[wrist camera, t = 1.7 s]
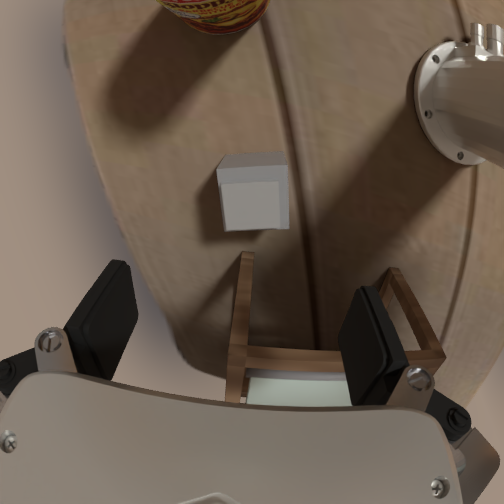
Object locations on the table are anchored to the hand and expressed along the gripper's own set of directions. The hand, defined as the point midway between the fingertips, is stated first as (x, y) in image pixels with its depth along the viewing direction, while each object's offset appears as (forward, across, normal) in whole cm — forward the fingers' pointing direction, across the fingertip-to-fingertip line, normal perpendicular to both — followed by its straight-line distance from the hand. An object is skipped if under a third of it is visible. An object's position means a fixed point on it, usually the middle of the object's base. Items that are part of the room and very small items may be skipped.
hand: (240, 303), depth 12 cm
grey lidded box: (+16, 0, 0) cm, 16 cm away
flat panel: (+5, -8, +16) cm, 18 cm away
